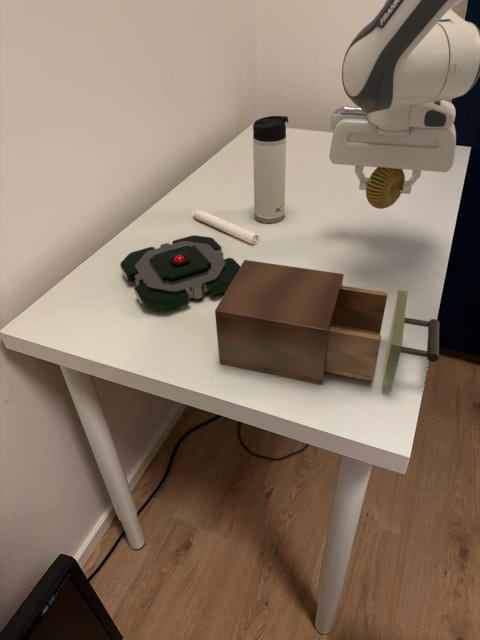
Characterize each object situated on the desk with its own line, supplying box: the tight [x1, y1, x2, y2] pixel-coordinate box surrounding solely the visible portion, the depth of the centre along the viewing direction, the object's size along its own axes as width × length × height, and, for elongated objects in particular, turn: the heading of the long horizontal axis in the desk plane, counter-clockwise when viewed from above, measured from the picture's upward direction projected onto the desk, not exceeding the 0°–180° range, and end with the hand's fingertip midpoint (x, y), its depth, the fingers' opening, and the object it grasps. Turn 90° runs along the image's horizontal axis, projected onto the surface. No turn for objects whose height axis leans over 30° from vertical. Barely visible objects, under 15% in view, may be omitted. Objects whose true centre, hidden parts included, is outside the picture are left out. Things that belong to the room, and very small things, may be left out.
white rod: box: [192, 209, 260, 245], centre depth 97 cm, size 18×2×2 cm, turn 46°
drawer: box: [324, 285, 440, 391], centre depth 65 cm, size 18×11×8 cm, turn 72°
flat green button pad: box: [119, 234, 241, 311], centre depth 84 cm, size 18×18×5 cm
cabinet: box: [214, 259, 345, 385], centre depth 68 cm, size 15×13×10 cm
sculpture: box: [365, 167, 406, 210], centre depth 85 cm, size 8×4×8 cm, turn 128°
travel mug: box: [252, 115, 289, 224], centre depth 95 cm, size 6×7×20 cm
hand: (384, 190), depth 86 cm, fingers closed on sculpture, 6 cm apart
